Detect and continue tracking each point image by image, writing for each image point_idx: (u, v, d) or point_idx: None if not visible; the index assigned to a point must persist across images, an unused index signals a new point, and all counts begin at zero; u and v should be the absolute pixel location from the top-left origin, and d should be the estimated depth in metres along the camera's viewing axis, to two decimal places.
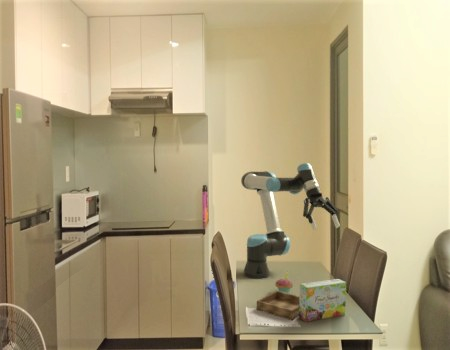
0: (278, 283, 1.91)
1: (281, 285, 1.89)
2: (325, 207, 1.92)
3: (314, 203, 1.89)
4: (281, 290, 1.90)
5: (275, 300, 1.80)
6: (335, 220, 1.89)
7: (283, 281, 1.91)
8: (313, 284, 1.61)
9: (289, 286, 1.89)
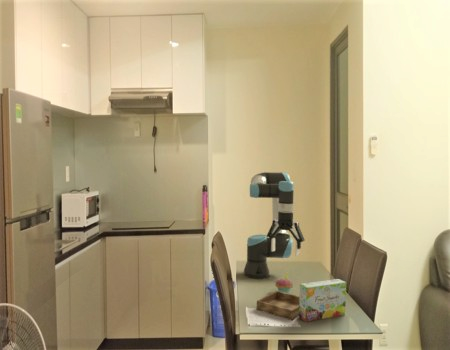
0: (278, 283, 1.91)
1: (281, 285, 1.89)
2: None
3: (278, 227, 1.92)
4: (281, 290, 1.90)
5: (275, 300, 1.80)
6: None
7: (283, 281, 1.91)
8: (313, 284, 1.61)
9: (289, 286, 1.89)
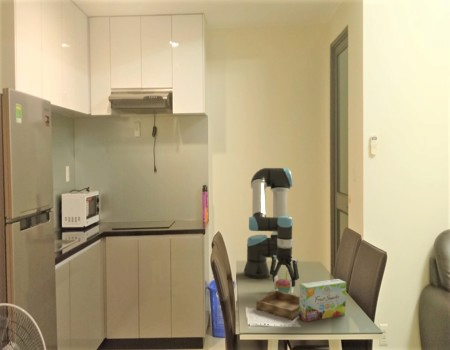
0: (278, 283, 1.91)
1: (281, 285, 1.89)
2: None
3: (278, 263, 1.93)
4: (281, 290, 1.90)
5: (275, 300, 1.80)
6: None
7: (283, 281, 1.91)
8: (313, 284, 1.61)
9: (289, 286, 1.89)
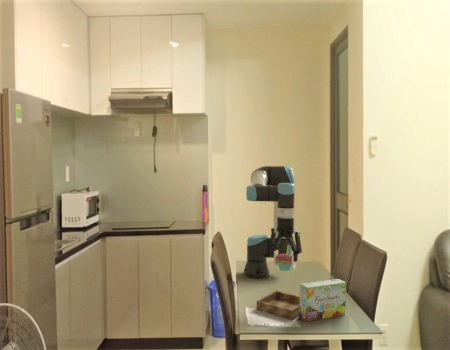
0: (278, 258, 1.70)
1: (282, 260, 1.68)
2: None
3: (278, 236, 1.72)
4: (282, 265, 1.70)
5: (275, 300, 1.80)
6: None
7: (284, 255, 1.70)
8: (313, 284, 1.61)
9: (291, 261, 1.69)
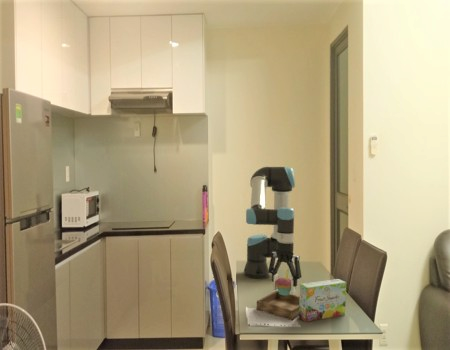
0: (278, 282, 1.70)
1: (281, 285, 1.69)
2: None
3: (277, 260, 1.72)
4: (281, 290, 1.70)
5: (275, 300, 1.80)
6: None
7: (283, 280, 1.70)
8: (313, 284, 1.61)
9: (290, 286, 1.69)
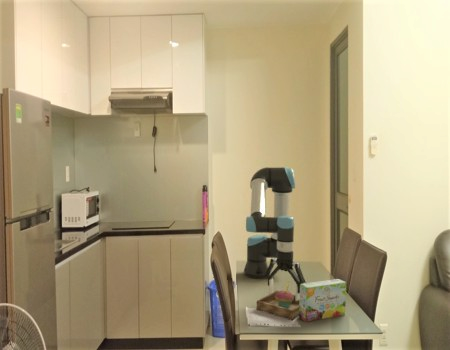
0: (278, 295, 1.71)
1: (281, 298, 1.69)
2: None
3: (276, 268, 1.73)
4: (281, 303, 1.70)
5: (275, 300, 1.80)
6: None
7: (284, 293, 1.71)
8: (313, 284, 1.61)
9: (290, 299, 1.69)
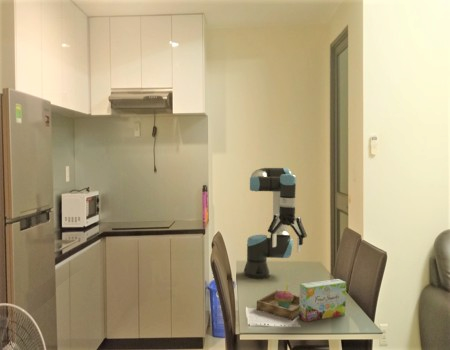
0: (278, 296, 1.70)
1: (281, 298, 1.69)
2: None
3: (279, 222, 1.84)
4: (281, 303, 1.70)
5: (275, 300, 1.80)
6: None
7: (283, 293, 1.71)
8: (313, 284, 1.61)
9: (290, 299, 1.69)
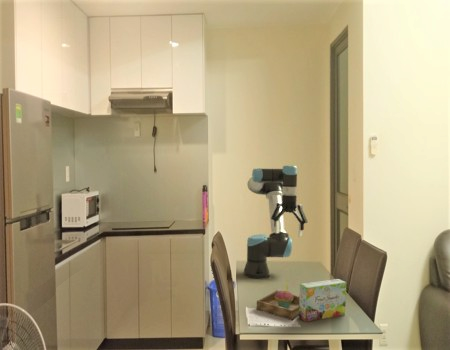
0: (278, 296, 1.70)
1: (282, 298, 1.69)
2: None
3: (282, 210, 2.00)
4: (281, 303, 1.70)
5: (275, 300, 1.80)
6: None
7: (283, 293, 1.71)
8: (313, 284, 1.61)
9: (290, 299, 1.69)
